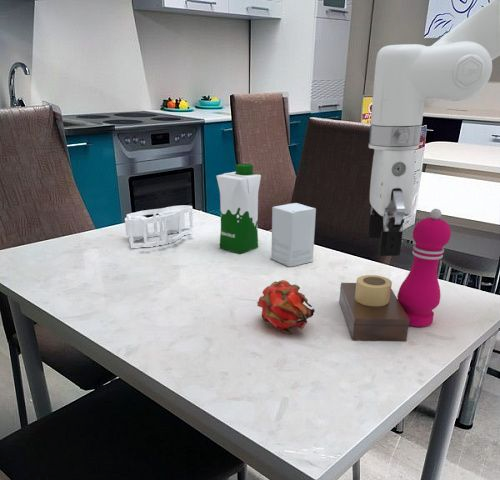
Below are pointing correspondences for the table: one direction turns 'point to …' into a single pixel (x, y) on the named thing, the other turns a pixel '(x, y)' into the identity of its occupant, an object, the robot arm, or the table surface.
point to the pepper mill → (424, 270)
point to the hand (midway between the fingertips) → (382, 245)
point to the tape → (373, 290)
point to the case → (373, 317)
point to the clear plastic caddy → (172, 224)
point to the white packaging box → (293, 234)
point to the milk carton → (239, 209)
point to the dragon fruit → (284, 306)
